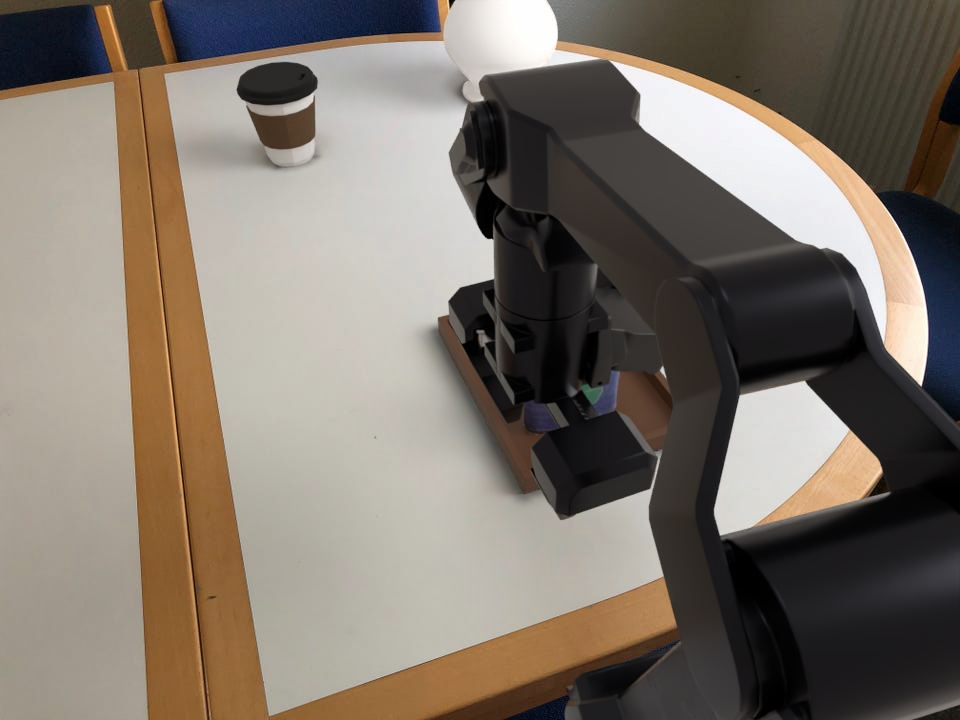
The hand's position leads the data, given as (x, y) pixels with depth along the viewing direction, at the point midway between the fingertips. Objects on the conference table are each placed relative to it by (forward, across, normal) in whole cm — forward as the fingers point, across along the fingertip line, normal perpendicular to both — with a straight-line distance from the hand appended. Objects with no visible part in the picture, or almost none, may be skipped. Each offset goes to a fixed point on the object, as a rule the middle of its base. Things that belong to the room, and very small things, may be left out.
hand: (538, 465), depth 55 cm
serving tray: (+13, +19, -11) cm, 26 cm away
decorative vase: (+13, +84, -31) cm, 90 cm away
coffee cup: (+13, +76, +5) cm, 77 cm away
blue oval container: (+13, +13, -10) cm, 21 cm away
